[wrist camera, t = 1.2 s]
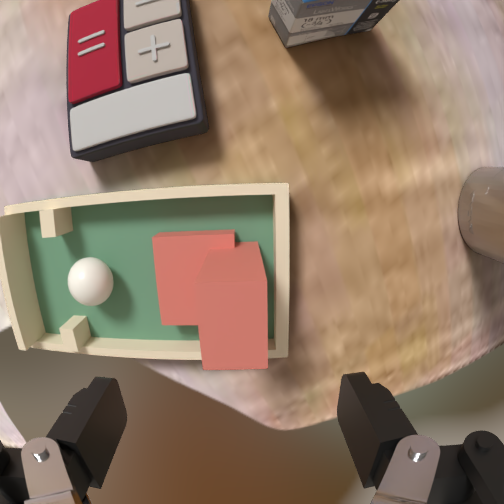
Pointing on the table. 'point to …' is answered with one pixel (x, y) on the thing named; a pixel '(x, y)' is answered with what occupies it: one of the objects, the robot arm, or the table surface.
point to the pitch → (131, 265)
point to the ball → (90, 281)
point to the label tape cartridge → (324, 18)
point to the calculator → (132, 77)
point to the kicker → (215, 295)
